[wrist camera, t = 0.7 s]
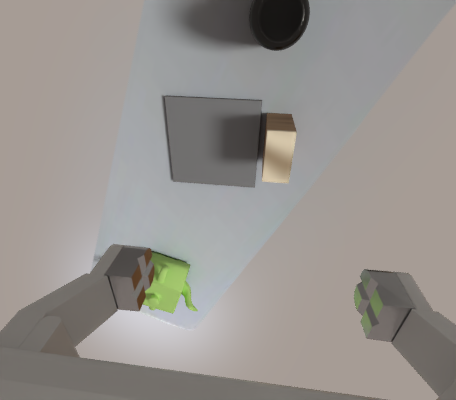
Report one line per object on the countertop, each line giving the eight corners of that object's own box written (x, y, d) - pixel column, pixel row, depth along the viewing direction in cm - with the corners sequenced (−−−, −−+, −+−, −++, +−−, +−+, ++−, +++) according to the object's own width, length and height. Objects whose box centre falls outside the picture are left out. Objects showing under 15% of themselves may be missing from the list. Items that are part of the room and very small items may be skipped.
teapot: (128, 253, 67) (107, 288, 58) (170, 236, 62) (155, 271, 53) (164, 291, 73) (151, 328, 65) (205, 278, 69) (197, 316, 60)
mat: (165, 95, 45) (164, 96, 45) (262, 100, 44) (261, 101, 43) (174, 179, 54) (173, 181, 53) (254, 185, 52) (254, 187, 52)
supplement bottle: (260, 54, 40) (258, 64, 30) (244, 2, 37) (236, -7, 27) (306, 34, 38) (321, 37, 28) (294, -24, 35) (305, -43, 25)
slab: (267, 112, 45) (267, 130, 37) (291, 114, 44) (296, 132, 37) (262, 157, 49) (262, 181, 42) (284, 159, 49) (288, 183, 41)
